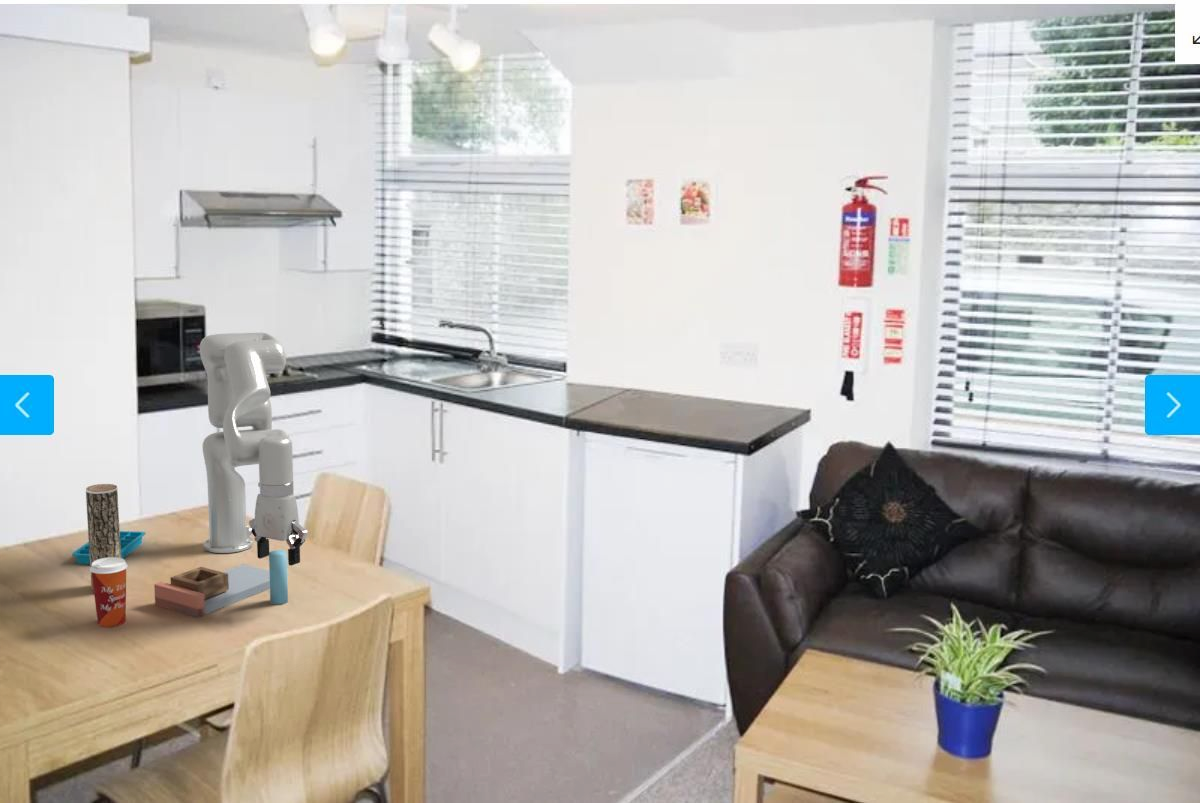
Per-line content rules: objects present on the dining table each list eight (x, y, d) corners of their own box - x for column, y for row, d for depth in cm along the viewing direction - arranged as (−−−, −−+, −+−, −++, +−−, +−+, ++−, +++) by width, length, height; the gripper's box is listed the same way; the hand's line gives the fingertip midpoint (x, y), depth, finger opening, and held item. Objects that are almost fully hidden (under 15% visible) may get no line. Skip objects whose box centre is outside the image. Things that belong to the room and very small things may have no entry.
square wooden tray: (201, 582, 265) (201, 566, 264) (228, 589, 260) (228, 573, 260) (171, 593, 257) (170, 577, 256) (198, 601, 253) (197, 585, 252)
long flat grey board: (243, 571, 280) (242, 552, 279) (284, 582, 273) (284, 563, 272) (155, 604, 256) (154, 584, 255) (198, 617, 250) (197, 596, 249)
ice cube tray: (147, 542, 301) (147, 531, 300) (116, 567, 281) (116, 555, 280) (104, 541, 300) (104, 530, 300) (70, 565, 281) (70, 554, 280)
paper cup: (106, 631, 240) (103, 570, 238) (85, 623, 244) (81, 563, 242) (138, 620, 247) (135, 560, 244) (117, 612, 251) (113, 553, 248)
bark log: (127, 584, 268) (122, 484, 264) (112, 594, 262) (107, 492, 257) (101, 582, 269) (95, 483, 264) (85, 592, 262) (79, 490, 258)
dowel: (279, 597, 263) (277, 549, 261) (291, 600, 262) (290, 552, 259) (266, 602, 260) (265, 553, 258) (279, 605, 258) (278, 556, 256)
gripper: (237, 487, 256) (239, 558, 259) (293, 498, 248) (295, 571, 251) (261, 481, 263) (263, 550, 266) (316, 491, 255) (318, 562, 258)
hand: (278, 560), depth 258 cm, fingers open, 9 cm apart
